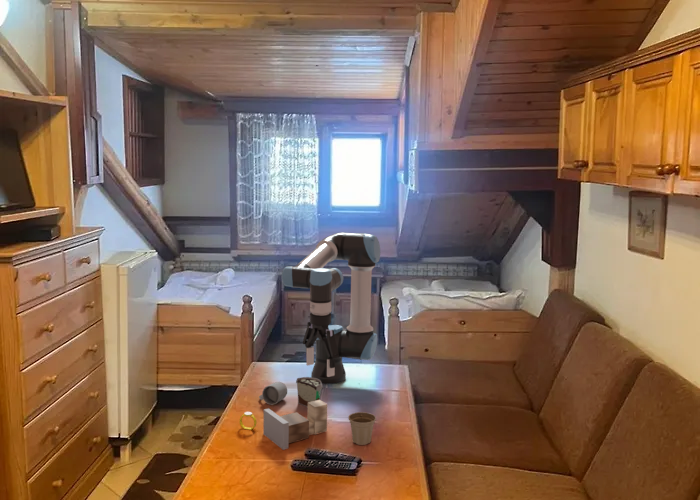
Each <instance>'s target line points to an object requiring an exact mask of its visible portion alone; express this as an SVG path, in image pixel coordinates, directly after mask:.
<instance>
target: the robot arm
mask: <svg viewBox="0 0 700 500" xmlns="http://www.w3.org/2000/svg"><path fill="white" fill-rule="evenodd" d="M335 260H339V261H340V260H341V261H342V260H343V261H347V266H348V267H349V269H351V271H350V272H351V273H350V274H351V277H350V311H349V313H350V314H349V315H350V316H349V317H350V318H349V325H348V326H346V328H345V329H346V330H345V329H344V327H343V326H342V325H340V324H331V323H332V313H331V312H332V292H333V291H335V290H336V289H338V288H339V287H340V286H342V284H343V282H344V275H343V273H342V271H341V270H340V268H339V269H338V268H337V267H331V268H330V267H329V268H324V267H325V266H326V265H327V264H328V263H330V262H333V261H335ZM380 260H381V245H380V241H379V238H378V237H377V236H376V235H375V234H370V233H360V232H359V233H358V232H354V233H353V232H337V233H333V234H330V235H329V236H327V237H325V238H323V239H322V240H320V241H318V243H317V244H316V247H315V249H314V250H311V251H310V253H309V254H308V255H307V256H306V257H304V258H303V259H302V260H301V261H300V262H298V263H297V264H296V265H295V266H285V267H284V268H283V270H282V272H281V282H282V285H283V286H284V287H288V288H289V287H291V288H297V289H298V288H300V289H310V290H309V296H310V297H309V301H310V302H309V303H310V304H309V307H310V308H309V312H310V313H309V321H308V322H307V325H306V326H307V327H306V331H305V333H304V336H303V340H302V344H303V345H304V346H305V348H306V349H305V353H306V366H312V365H313V368H312V371H311V376H310V377H312V378H317V379H319V380H320V381H321V383H322V384H325V385H326V384H327V385H331V384H339V383H342V382H345V381H346V377H347V376H346V375H347V374H346V370H345V367H344V364H343V363H344V362H343V358H347V359H354V360H361V361H362V360H364V361H370V360H371V359H372V358H373V357H374V355H375V353H376V350H377V346H378V338H379V337H378V334H377V333H375V332H374V327H373V326H372V325H371V306H372V305H371V303H372V301H371V300H372V273H373V272H372V271H373V269H374V268H375V267H376V264H377V263H378V262H380ZM314 344H315V345H314ZM314 346H315V347H314Z"/></svg>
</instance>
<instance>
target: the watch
mask: <svg viewBox="0 0 700 500" xmlns="http://www.w3.org/2000/svg"><path fill="white" fill-rule="evenodd" d="M244 417H248V418H249V417H251V418H252V420H253V425H252V427H248V426H245V425H244V423H243V418H244ZM257 423H258V422H257V418H256V417H255V415H254V414H253V412H251V411H245V412H243V414H242V415H241V416H240V418H239V425H240V427H241V428H242V429H243V430H247V431H248V430H249V431H252V430H253V429H254V428H256V425H257Z"/></svg>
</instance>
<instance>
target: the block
mask: <svg viewBox="0 0 700 500" xmlns="http://www.w3.org/2000/svg"><path fill="white" fill-rule="evenodd" d="M279 416H280V417H282V418H283V419H284V420H286V421H287V422H289V440H288V444H291V443H295V442H298V441H302V440H305V439H309V438H310V435H309V420H307V418H306V417H304V416H303V415H301V414H299V412H297V411H296V412H292V413H288V414H284V415H279Z"/></svg>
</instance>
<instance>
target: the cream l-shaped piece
mask: <svg viewBox="0 0 700 500" xmlns="http://www.w3.org/2000/svg"><path fill="white" fill-rule="evenodd" d="M306 419H307V420H309V436H312V435H318V434H321V433H325V432H328V429H327V428H328V403H326V402H324V401H322V400H321V399H320V400H316V401H312V402H308V407H307V418H306Z"/></svg>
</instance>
